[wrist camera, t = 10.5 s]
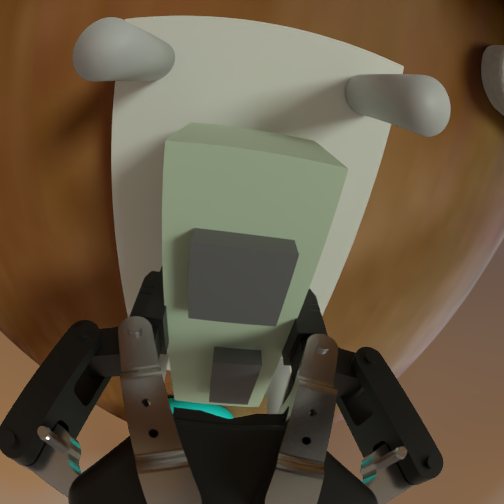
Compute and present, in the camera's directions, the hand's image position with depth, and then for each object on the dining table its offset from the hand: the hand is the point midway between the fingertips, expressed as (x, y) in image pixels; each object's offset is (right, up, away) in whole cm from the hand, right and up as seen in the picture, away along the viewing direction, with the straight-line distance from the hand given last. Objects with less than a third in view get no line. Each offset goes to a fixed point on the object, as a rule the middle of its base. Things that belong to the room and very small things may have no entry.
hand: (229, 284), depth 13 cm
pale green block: (0, +1, +1) cm, 1 cm away
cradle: (0, +2, +3) cm, 4 cm away
